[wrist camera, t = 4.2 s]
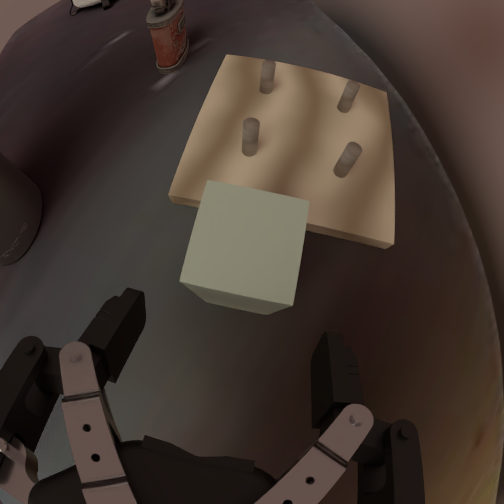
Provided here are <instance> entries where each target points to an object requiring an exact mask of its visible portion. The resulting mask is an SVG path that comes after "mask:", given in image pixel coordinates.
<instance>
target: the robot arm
mask: <svg viewBox="0 0 504 504" xmlns="http://www.w3.org/2000/svg"><path fill="white" fill-rule="evenodd" d="M42 205H43V204H42V195H41V192H40V189H39V188H38V186H37V185H36V184H35V183H34V182H33V181H32V180H31V179H29V178H28V177H27V176H26V175H25V174H24V173H23V172H21V171H20V170H19V169H18V168H17V167H16V166H15V165H14V164H13V163H12V162H11V161H9V160H8V159H7V158H6V157H5V156H4V155H3V154H2V153H1V152H0V264H1V265H9V264H11V263H13V262H15V261H17V260H18V259H19V258H20V257H22V255H23V254H24V253H25V252H26V251H27V249H28V248H29V246H30V245H31V243H32V242H33V239H34V237H35V235H36V233H37V230H38V227H39V224H40V220H41V215H42ZM145 322H146V309H145V296H144V292H142V291H139V290H135V289H131V288H127V289H126V290H125V291H124V292H123V294H122V295H121V296H120V297H118V296H114V297H112V298H111V299H109V300H108V301H106V302H105V304H104V305H103V306H102V308H101V309H100V311H99V312H98V313H97V314H96V317H94V319H93V320H92V321H91V323H90V324H89V326H88V327H87V329H86V330H85V331H84V333H83V334H82V336H81V337H80V339H79V340H78V341H77V342H70V343H68V344H66V345H65V346H64V347H63V348H54V347H46V346H44V345H43V342H42V341H41V339H39V338H38V337H35V336H28V337H25V338H23V339H22V340H21V341H20V342H19V343H18V344H17V346H16V347H15V349H14V350H13V352H12V353H11V355H10V356H9V358H8V359H7V361H6V363H5V364H4V366H3V367H2V369H1V371H0V487H1V488H2V489H3V490H5V491H6V492H8V493H9V494H10V495H12V496H13V497H15V498H16V499H18V500H19V501H21V502H22V503H24V504H318V503H319V502H320V501H321V499H322V498H323V497H324V496H325V495H326V494H327V492H328V491H329V490H330V489H331V488H332V486H333V485H334V484H335V483H336V481H337V480H338V479H339V478H340V476H341V475H342V474H343V473H344V471H345V470H346V468H347V466H348V464H347V463H348V461H349V460H353V461H356V462H358V497H357V504H425V493H424V480H423V469H422V460H421V452H420V444H419V437H418V432H417V429H416V427H415V426H414V424H413V423H411V422H410V421H408V420H404V419H401V420H397V421H396V422H394V423H393V424H390V423H386V422H383V421H380V420H377V419H375V418H373V415H372V413H371V412H370V410H369V409H368V408H366V407H365V406H364V403H363V396H362V390H361V384H360V377H359V372H358V368H357V360H356V356H355V354H354V353H353V351H352V350H351V348H350V347H345V346H344V343H343V337H342V335H341V334H337V333H330V332H324V333H323V335H322V337H321V339H320V341H319V343H318V345H317V347H316V349H315V351H314V353H313V356H312V359H311V398H312V428H316V429H320V436H319V437H318V438H317V439H316V440H315V441H314V442H313V443H312V444H311V446H310V447H309V448H308V449H307V450H306V451H305V452H304V453H303V454H302V455H301V456H300V457H299V458H298V459H297V460H296V461H295V462H294V463H293V464H292V465H291V466H290V467H289V468H288V469H287V470H286V471H285V472H284V473H283V474H282V475H281V476H280V477H279V478H278V479H276V480H275V479H274V478H273V477H272V476H271V475H270V474H268V473H266V472H265V471H263V470H261V469H259V468H257V467H254V463H255V461H253V460H246V459H240V458H234V457H228V456H224V457H198V456H195V455H193V454H191V453H189V452H187V451H185V450H183V449H181V448H179V447H177V446H175V445H173V444H172V443H169V442H165V441H162V440H159V439H155V438H152V437H149V436H146V435H145V436H144V439H143V441H142V440H132V441H125V442H122V439H121V437H120V434H119V432H118V430H117V427H116V425H115V422H114V419H113V416H112V412H111V409H110V406H109V402H108V399H107V395H106V392H105V388H104V386H105V384H106V382H107V380H108V381H110V382H113V383H116V381H117V379H118V377H119V375H120V373H121V371H122V369H123V367H124V365H125V363H126V361H127V359H128V357H129V355H130V353H131V351H132V350H133V348H134V346H135V344H136V342H137V340H138V338H139V336H140V334H141V333H142V331H143V329H144V326H145ZM60 394H63V395H64V399H62V408H63V413H64V419H65V423H66V428H67V432H68V437H69V441H70V445H71V449H72V452H73V456H74V460H75V463H76V465H74V466H72V467H69V468H67V469H65V470H63V471H61V472H58V473H56V474H54V475H52V476H49V477H47V478H45V479H42V480H40V481H39V480H38V477H37V472H38V460H37V458H36V456H35V454H34V451H35V449H36V446H37V444H38V441H39V439H40V437H41V434H42V432H43V430H44V427H45V425H46V423H47V421H48V418H49V416H50V414H51V412H52V410H53V408H54V405H55V403H56V401H57V399H58V397H59V395H60Z"/></svg>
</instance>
